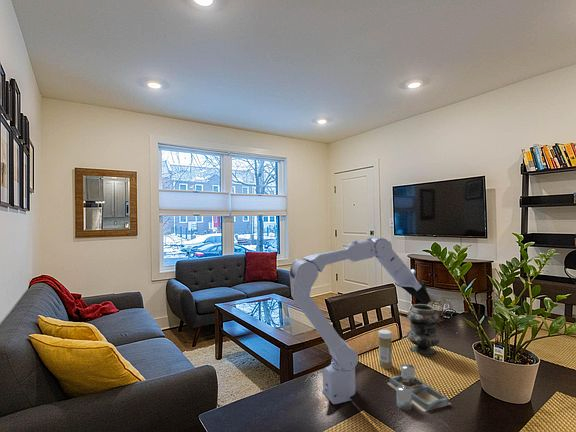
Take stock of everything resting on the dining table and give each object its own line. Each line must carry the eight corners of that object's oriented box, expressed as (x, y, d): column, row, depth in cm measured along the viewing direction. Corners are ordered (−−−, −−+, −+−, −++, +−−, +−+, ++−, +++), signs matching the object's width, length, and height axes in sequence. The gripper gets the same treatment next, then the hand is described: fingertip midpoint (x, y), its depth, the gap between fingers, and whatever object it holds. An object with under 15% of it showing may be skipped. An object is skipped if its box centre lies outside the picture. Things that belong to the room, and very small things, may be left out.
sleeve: (403, 416, 86) (402, 394, 86) (392, 407, 90) (391, 386, 90) (416, 413, 87) (416, 391, 87) (405, 404, 92) (405, 383, 92)
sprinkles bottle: (395, 369, 112) (394, 331, 112) (386, 373, 110) (386, 334, 110) (384, 365, 116) (384, 328, 116) (376, 368, 113) (375, 330, 113)
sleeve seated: (407, 391, 96) (406, 371, 96) (397, 384, 100) (396, 365, 100) (419, 388, 97) (419, 368, 97) (409, 381, 102) (408, 362, 102)
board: (423, 416, 86) (423, 405, 86) (386, 386, 101) (386, 377, 101) (452, 408, 89) (451, 398, 89) (412, 381, 104) (412, 372, 104)
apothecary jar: (442, 359, 119) (441, 312, 119) (408, 356, 123) (407, 309, 123) (437, 347, 131) (436, 303, 131) (406, 344, 134) (405, 301, 135)
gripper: (416, 264, 94) (444, 297, 96) (395, 255, 108) (419, 283, 110) (399, 280, 94) (426, 313, 95) (380, 268, 108) (404, 297, 110)
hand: (421, 298), depth 103 cm, fingers open, 7 cm apart
